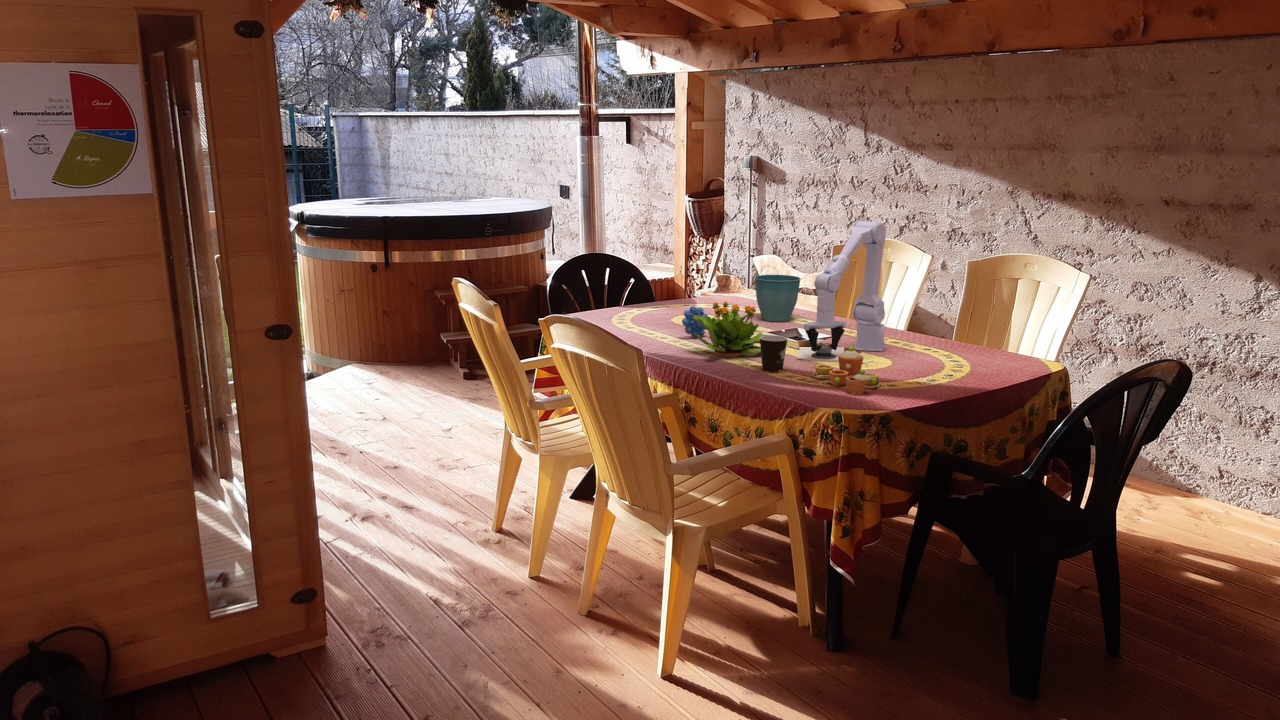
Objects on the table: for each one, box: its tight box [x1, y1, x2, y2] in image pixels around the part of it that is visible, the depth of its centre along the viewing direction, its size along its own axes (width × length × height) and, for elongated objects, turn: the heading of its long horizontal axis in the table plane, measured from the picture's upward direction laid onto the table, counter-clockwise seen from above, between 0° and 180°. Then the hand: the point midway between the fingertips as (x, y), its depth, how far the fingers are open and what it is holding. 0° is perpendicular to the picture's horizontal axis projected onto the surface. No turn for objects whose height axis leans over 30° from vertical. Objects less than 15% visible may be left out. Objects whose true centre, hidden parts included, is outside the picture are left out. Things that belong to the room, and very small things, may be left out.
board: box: [796, 338, 845, 363], centre depth 319 cm, size 15×20×4 cm
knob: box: [815, 342, 832, 357], centre depth 313 cm, size 5×5×4 cm
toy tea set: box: [811, 346, 881, 395], centre depth 281 cm, size 26×16×10 cm, turn 18°
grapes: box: [681, 305, 708, 339], centre depth 342 cm, size 12×7×12 cm, turn 123°
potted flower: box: [692, 300, 768, 358], centre depth 317 cm, size 25×24×18 cm
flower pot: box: [754, 274, 802, 323], centre depth 377 cm, size 18×18×17 cm
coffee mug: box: [759, 334, 788, 372], centre depth 299 cm, size 12×9×10 cm
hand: (823, 350), depth 313 cm, fingers open, 7 cm apart
